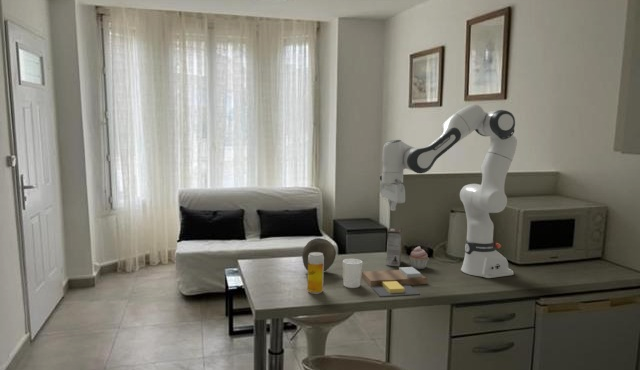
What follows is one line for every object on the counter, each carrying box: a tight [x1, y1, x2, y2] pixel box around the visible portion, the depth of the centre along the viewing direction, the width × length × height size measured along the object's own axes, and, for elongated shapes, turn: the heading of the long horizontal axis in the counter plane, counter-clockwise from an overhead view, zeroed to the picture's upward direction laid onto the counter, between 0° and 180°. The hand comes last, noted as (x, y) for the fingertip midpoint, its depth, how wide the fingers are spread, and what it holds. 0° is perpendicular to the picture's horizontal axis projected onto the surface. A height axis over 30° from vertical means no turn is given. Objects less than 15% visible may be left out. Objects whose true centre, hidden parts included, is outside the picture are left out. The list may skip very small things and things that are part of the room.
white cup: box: [342, 258, 363, 289], centre depth 191 cm, size 8×8×10 cm
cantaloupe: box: [301, 237, 337, 272], centre depth 206 cm, size 14×14×15 cm
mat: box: [370, 284, 421, 298], centre depth 186 cm, size 16×11×1 cm
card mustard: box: [382, 281, 405, 293], centre depth 187 cm, size 6×9×2 cm, turn 12°
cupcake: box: [408, 245, 430, 270], centre depth 217 cm, size 9×9×10 cm
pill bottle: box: [307, 252, 325, 295], centre depth 183 cm, size 6×6×15 cm
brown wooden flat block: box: [361, 269, 428, 288], centre depth 199 cm, size 24×12×2 cm, turn 102°
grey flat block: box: [398, 266, 422, 278], centre depth 200 cm, size 6×9×2 cm, turn 12°
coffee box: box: [385, 227, 403, 267], centre depth 223 cm, size 9×6×16 cm
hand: (392, 210), depth 205 cm, fingers closed
